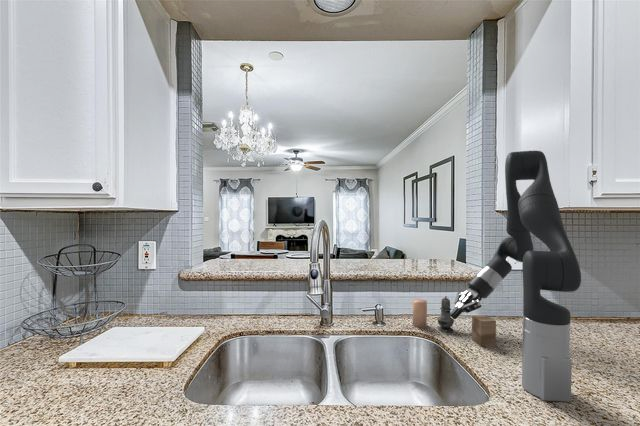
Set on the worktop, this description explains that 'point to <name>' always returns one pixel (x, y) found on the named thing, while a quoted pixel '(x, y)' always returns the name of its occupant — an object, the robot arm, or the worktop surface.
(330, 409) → the worktop surface
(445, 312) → the dark grey turned piece
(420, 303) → the terracotta canister
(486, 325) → the walnut block
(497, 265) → the robot arm
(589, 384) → the worktop surface
